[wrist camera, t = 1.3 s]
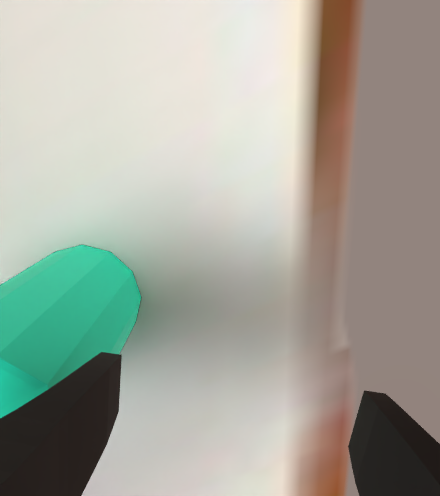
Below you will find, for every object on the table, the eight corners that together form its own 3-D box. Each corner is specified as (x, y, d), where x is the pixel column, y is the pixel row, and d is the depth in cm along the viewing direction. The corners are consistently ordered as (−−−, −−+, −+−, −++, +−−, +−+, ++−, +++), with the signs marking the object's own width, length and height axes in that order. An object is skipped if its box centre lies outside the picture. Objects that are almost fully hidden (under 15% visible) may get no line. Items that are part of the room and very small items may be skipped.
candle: (144, 346, 22) (50, 577, 10) (39, 345, 22) (-174, 573, 10) (138, 244, 20) (18, 377, 8) (26, 244, 20) (-246, 375, 9)
